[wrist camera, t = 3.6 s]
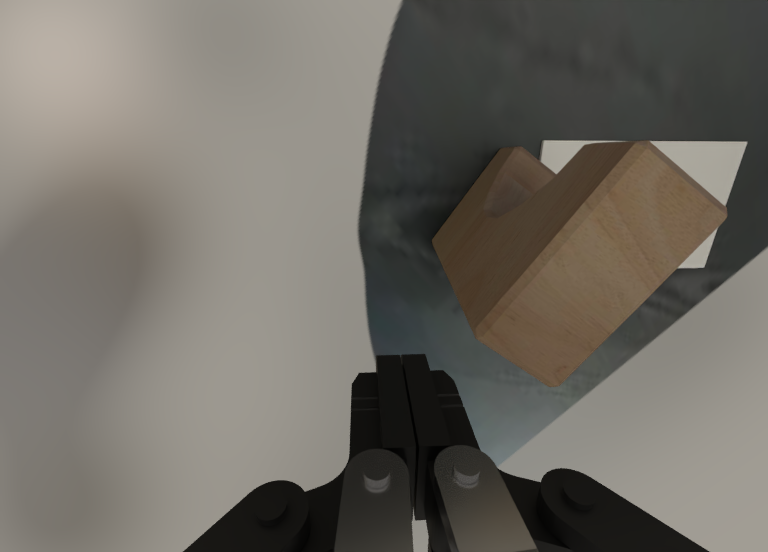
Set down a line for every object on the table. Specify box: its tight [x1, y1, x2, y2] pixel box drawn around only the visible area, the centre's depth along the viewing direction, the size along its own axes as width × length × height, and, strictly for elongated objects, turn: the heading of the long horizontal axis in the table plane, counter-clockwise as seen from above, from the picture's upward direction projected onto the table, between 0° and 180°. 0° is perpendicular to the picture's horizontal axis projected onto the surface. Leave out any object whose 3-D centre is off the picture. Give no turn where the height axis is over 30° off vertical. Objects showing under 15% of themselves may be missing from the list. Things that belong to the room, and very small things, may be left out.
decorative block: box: [432, 140, 727, 387], centre depth 26 cm, size 11×6×20 cm, turn 144°
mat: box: [539, 140, 747, 268], centre depth 36 cm, size 20×12×1 cm, turn 90°
